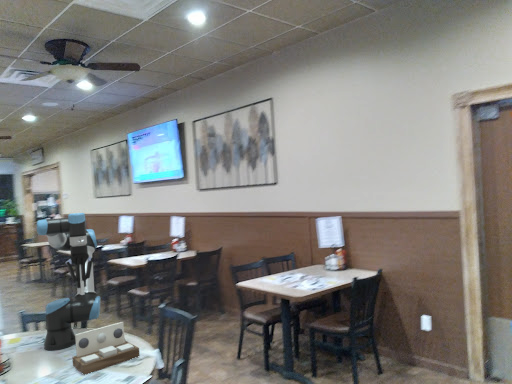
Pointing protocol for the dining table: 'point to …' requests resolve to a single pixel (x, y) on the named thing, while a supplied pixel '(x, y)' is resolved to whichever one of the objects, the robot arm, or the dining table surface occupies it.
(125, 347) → the button
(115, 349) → the middle button
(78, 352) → the pattern card
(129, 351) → the button board
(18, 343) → the dining table surface
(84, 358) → the button
